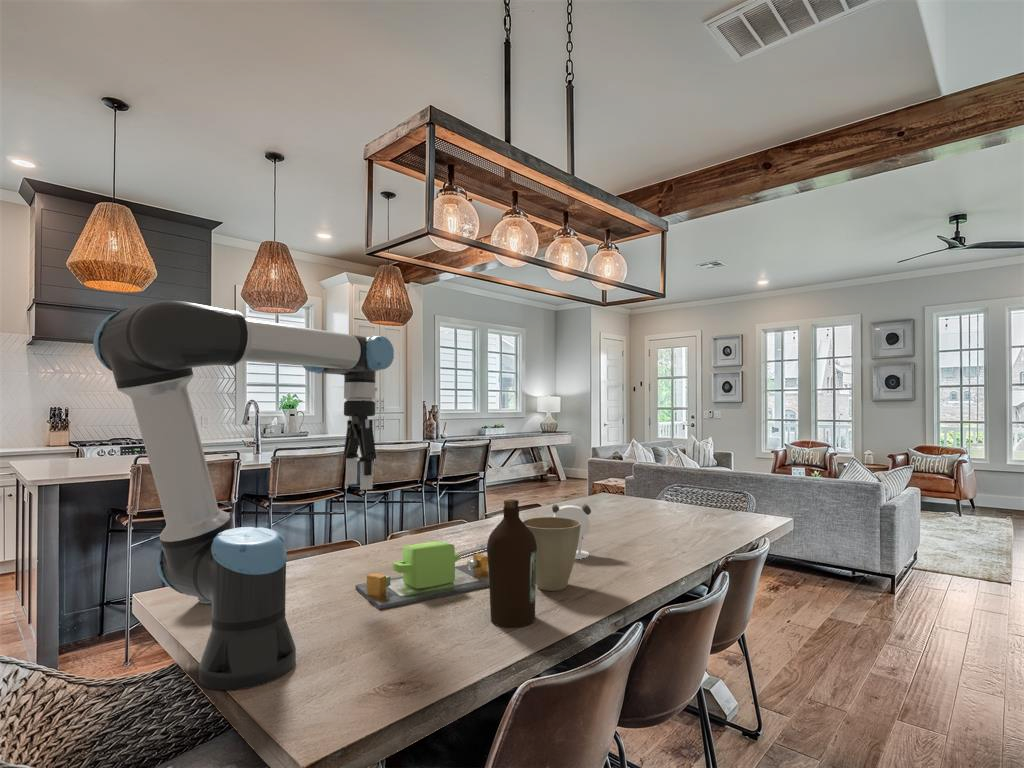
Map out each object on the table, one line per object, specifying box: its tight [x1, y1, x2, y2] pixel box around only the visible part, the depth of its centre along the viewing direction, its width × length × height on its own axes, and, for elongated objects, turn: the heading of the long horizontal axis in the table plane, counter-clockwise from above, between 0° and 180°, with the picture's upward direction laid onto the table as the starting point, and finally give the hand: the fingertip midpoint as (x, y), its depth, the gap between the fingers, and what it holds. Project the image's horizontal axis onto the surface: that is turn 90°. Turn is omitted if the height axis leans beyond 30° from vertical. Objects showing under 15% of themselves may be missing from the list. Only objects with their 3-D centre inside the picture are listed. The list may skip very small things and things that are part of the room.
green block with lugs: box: [392, 540, 461, 588], centre depth 141 cm, size 18×10×10 cm, turn 125°
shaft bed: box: [355, 552, 489, 610], centre depth 140 cm, size 18×33×6 cm, turn 123°
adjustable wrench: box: [456, 541, 488, 557], centre depth 172 cm, size 25×6×2 cm, turn 135°
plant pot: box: [521, 516, 581, 592], centre depth 139 cm, size 15×15×16 cm
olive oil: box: [486, 498, 537, 629], centre depth 117 cm, size 11×11×25 cm
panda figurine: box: [551, 504, 592, 560], centre depth 169 cm, size 12×11×15 cm
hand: (358, 486), depth 136 cm, fingers open, 13 cm apart
